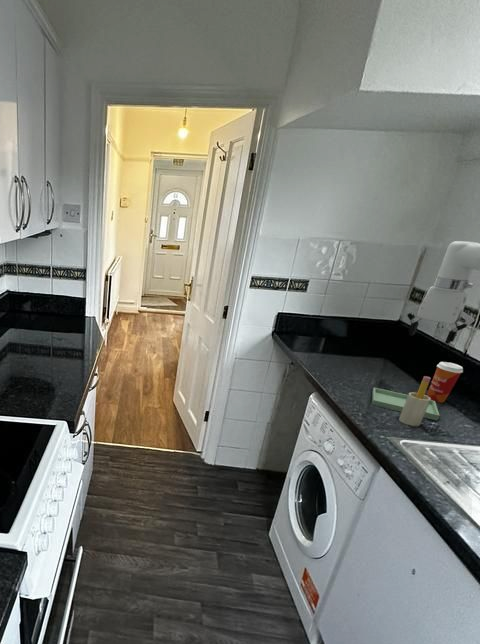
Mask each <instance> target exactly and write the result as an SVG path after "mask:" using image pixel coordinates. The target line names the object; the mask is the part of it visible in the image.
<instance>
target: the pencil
mask: <svg viewBox="0 0 480 644" xmlns="http://www.w3.org/2000/svg"><path fill="white" fill-rule="evenodd" d="M431 378H432V377H430V376H427V375H426V376H425V375H424V376H423V378H422V380H421V383H420V385H419V388H418V390H417V392H416V393H417V395H416V398H419V399H423V396H424V395H426V391H427V389H428V387H429V384H430V382H431Z"/></svg>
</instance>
